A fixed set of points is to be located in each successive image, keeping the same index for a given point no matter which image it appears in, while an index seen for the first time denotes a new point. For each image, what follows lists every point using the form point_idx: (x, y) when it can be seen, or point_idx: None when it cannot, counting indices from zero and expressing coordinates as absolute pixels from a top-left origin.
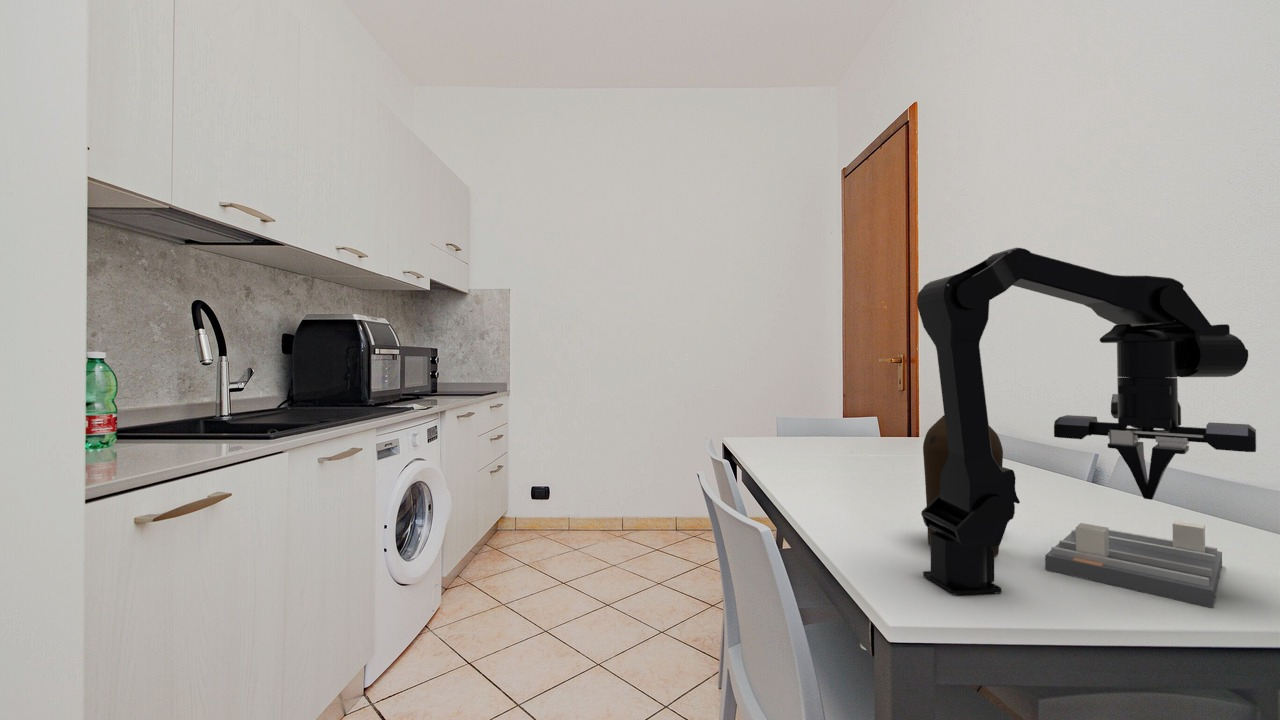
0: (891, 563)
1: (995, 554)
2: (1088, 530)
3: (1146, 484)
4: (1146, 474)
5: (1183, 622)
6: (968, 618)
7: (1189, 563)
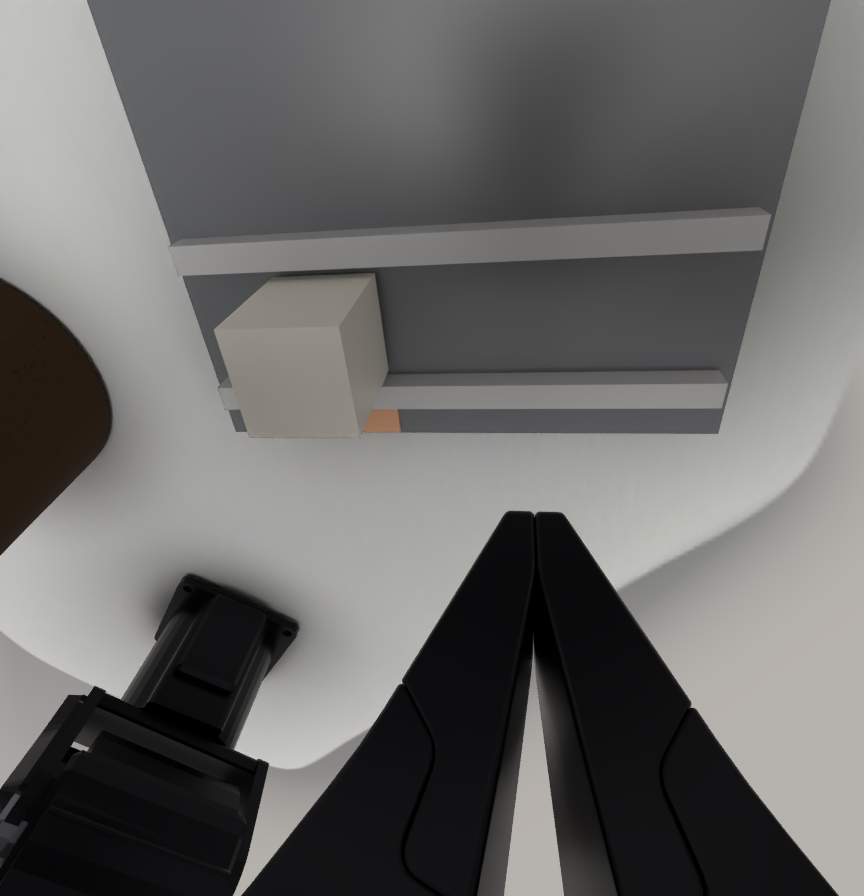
0: (70, 605)
1: (102, 395)
2: (300, 433)
3: (528, 685)
4: (517, 698)
5: (618, 551)
6: (330, 724)
7: (692, 27)
